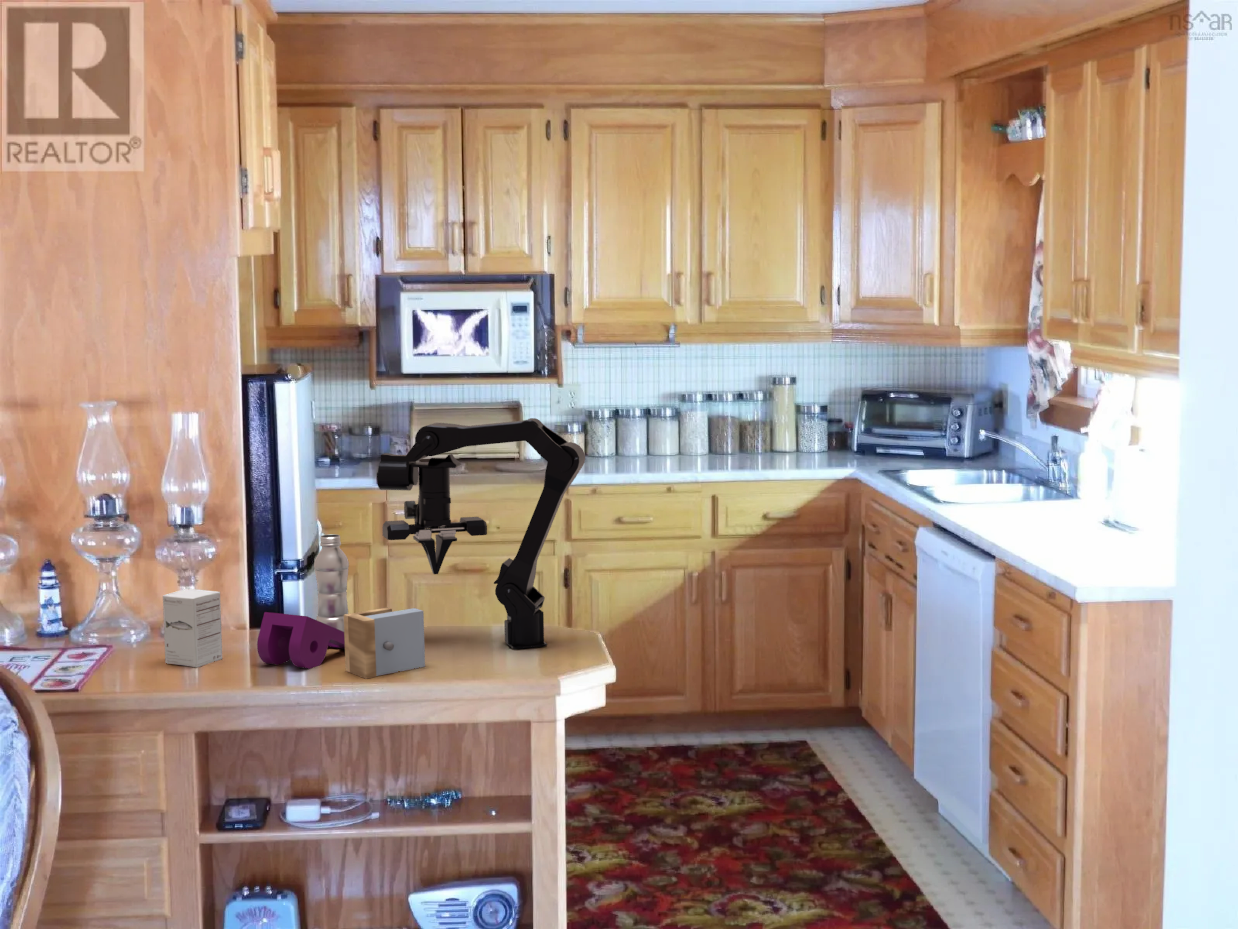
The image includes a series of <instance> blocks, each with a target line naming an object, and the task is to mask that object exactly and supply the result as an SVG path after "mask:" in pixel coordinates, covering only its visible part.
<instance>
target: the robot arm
mask: <svg viewBox="0 0 1238 929" xmlns="http://www.w3.org/2000/svg"><path fill="white" fill-rule="evenodd" d="M523 441H524V442H526V443H527V444H529V445H530V446H531V447H532V448H533V449H534V450H535V452H537V454H538V455H539V456H540V457H541V458H542V459H544V460H545V461H546V462H547V464H546V468H545V472H544V480H543V489H542V491H541V494H540V496H539V498H538V501H537V504H536V506H535V507H534V508H535V509H534V511H533V513H532V516H531V517H530V521H529V522H528V525H527V528H526V531H525V533H524V536H523V538H522V541H521V543H520V545H519V548H518V550H517V553H516V555H515V557H514V558H513V559H511V557H509V558H507V559H506V560H505V561H503V562H502V563H501V565H500V569H499V573H498V576H497V578H496V580H495V581H494V582H493V584H494V585H496V586H495V590H494V592H495V596H496V599H497V600H498V602H499V603H500V604H501V605H503V606H504V610H505V611H506V619H505V620H504V621H503V623H504V627H503V628H504V643H506V644H507V645H508V646H509V647H510V648H511V649H513V650H519V649H530V648H542V647H547V646H548V643H547V642H546V641H545V627H544V623H545V622H544V620H545V619H544V617H545V616H544V615H545V614H544V611H542V610H541V608H542V607H543V605H544V602H545V596H544V595H543V594H542V593H541V592H540V591H539V590H538V589H537V588H536V587H535V586H534V583H535V580H536V575H537V574H536V573H537V565H538V559H539V558H540V554H541V552H542V550H543V547H544V545H545V542H546V540H547V537H548V536H549V532H550V530H551V528H552V525H553V523H554V520H555V517H556V515H557V514H558V510H559V509H560V508H559V507H560V506H561V503H562V501H563V499H564V495H565V493H567V491H568V489H569V488H570V486H571V485H572V483H573V482H574V480H575V479H576V477H577V476H578V474H579V473H580V471H581V469H582V468H583V466H584V464H585V462H586V454H585V452H584V449H583V448H582V447H581V446H580V445H579V444H577V443H575V442H572V441H567V440H566V439H565V438H564V437H562V436H561V435H560V434H559V433H556V432H555V431H553V430H552V429H551V428H549V427H548V426H546V425H545V424H544V423H543V422H541V420H539V419H537V418H536V417H535V418H534V417H531V418H528V419H525V420H522V419H521V420H516V421H515V420H512V421H505V422H504V421H502V422H496V423H493V422H492V423H483V424H475V425H463V424H457V423H447V422H445V423H444V422H434V423H430V424H428V425H427V424H426V425H424V426H421V427H420V428H419V429H418V431H417V432H416V434H415V437H414V444H413V446H411V448H410V449H409V451H408V453H407V454H393V453H390V452H389V453H386V452H385V453H382V454H380V461H379V463H378V468H377V472H376V481H377V487H378V489H379V490H381V491H408V492H409V491H411V490H412V489H413V486H417V485H418V498H417V503H416V501H415V500H406V501H404V503H403V504H404V505H403V509H404V510H403V513H404V514H403V515H404V519H405V520H410V519H413V520H414V523H413V524H409V523H408V522H407V521H405V520H386V521H385V522H384V523H383V524H382V537H383V538H385V539H386V540H387V541H400V540H401V541H403V540H406V539H407V538H408V537H409V536H410V535H413V536H412V537H413V540H415V541H416V542H417V543H418V544H420V545H421V546H422V548H423V550H424V552H425V554H426V558H427V561H428V563H429V566H430V569H431V571H432V572H431V573H432V574H433V575H439V573H440V570H441V567H442V564H443V562H444V559H445V557H446V554H447V553H448V550H449V548H450V547H451V546H452V544H453V542H457V541H458V538H457V537H456V534H457V533H459V532H467V533H468V534H469V536H473V537H475V536H477V537H478V536H487V535H488V525H487V522H486V521H485V520H484V519H483V518H481V517H479V516H465V517H460V519H459V521H453V522H452V520H451V504H452V498H451V489H450V488H451V486H450V485H451V483H450V482H451V480H450V479H451V477H450V476H451V475H450V472H451V470H450V469H455V468H458V467H460V466H461V465H462V464H461V462H460V461H459V460H458V459H456V458H455V456H454V454H452V453H450V454H447V456H446V457H434V456H439V455H441V454H446V453H448V452H452V451H456V450H459V449H462V448H466V447H473V446H483V445H484V446H485V445H495V444H506V443H514V442H523ZM428 457H430V458H429V460H428V462H418V461H420V460H423V459H426V458H428ZM432 534H435V535H434V536H435V539H434V538H432Z"/></svg>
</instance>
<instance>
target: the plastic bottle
mask: <svg viewBox="0 0 1238 929" xmlns="http://www.w3.org/2000/svg"><path fill="white" fill-rule="evenodd" d="M319 544H320V547H321V550H320V551H319V553H318V554H317V556H316V558H315V560H314V563H313V565H314V568H313V569H314V572H315V580H316V584H317V585H316V586H317V588H316V589H317V592H318V593H317V612H316V614H317V616H316V619H315V620H317V621H319V622H322V623H324V624H327V625H329V626H331V627H334V628H336V629H338V630H341V631H343V632H344V614H349V607H348V592H347V590H348V576H349V567H350V562H349V560H348V556H347V554H346V553H345V552H344V551H343V549H342V548H341V546H342V542H341V535H340V534H322V535H320V543H319Z"/></svg>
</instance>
